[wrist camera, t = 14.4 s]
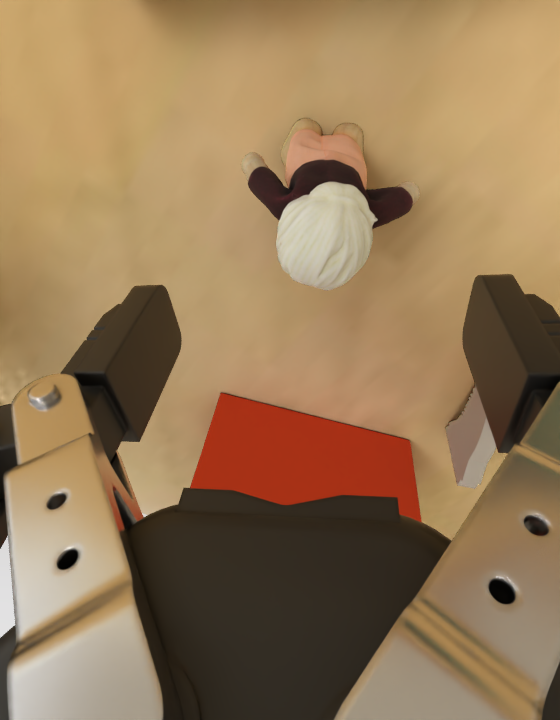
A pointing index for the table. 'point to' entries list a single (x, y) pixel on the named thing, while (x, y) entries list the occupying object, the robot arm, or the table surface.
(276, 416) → the file binder
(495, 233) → the table surface
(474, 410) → the grey flat fragment
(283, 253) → the grandmother figurine
